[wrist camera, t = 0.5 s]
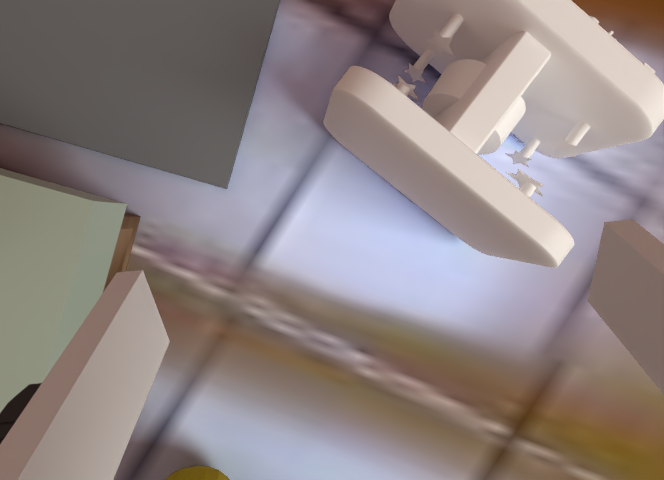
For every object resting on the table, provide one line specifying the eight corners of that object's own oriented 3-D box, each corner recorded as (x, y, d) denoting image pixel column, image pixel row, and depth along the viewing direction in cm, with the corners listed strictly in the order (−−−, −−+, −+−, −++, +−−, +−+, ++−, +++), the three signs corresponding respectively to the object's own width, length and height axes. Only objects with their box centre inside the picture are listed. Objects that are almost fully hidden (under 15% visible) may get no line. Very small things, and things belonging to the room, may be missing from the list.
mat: (227, 188, 31) (225, 188, 31) (-79, 100, 30) (-87, 97, 29) (287, -27, 31) (287, -31, 31) (-19, -130, 29) (-25, -137, 29)
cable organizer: (308, 124, 32) (316, 70, 20) (402, 2, 32) (463, -120, 20) (474, 255, 33) (570, 276, 22) (563, 139, 33) (706, 98, 22)
